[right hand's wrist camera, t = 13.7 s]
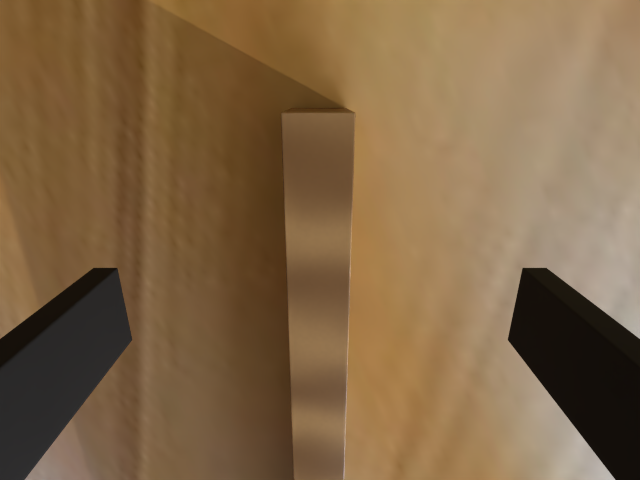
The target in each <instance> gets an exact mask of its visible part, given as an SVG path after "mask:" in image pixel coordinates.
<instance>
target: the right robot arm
mask: <svg viewBox="0 0 640 480" xmlns="http://www.w3.org/2000/svg"><path fill="white" fill-rule="evenodd" d="M131 341H132V337H131V332H130V327H129V322H128V317H127V313H126V308H125V303H124V298H123V293H122V288H121V284H120V279H119V274H118V269H117V268H93V269H92V270H90V271H89V272H88V273H86V274H85V275H84V276H83V277H81V278H80V279H79V280H77V281H76V282H75V283H73V284H72V285H71V286H69V287H68V288H67V289H65V290H64V291H63V292H61V293H60V294H59V295H58V296H56V297H55V298H54V299H52V300H51V301H50V302H48V303H47V304H46V305H44V306H43V307H42V308H40V309H39V310H38V311H37V312H35V313H34V314H33V315H31V316H30V317H29V318H27V319H26V320H25V321H23V322H22V323H21V324H19V325H18V326H17V327H16V328H14V329H13V330H12V331H10V332H9V333H8V334H6V335H5V336H4V337H2V338H1V339H0V480H25V478H26V477H27V476H28V474H29V473H30V472H31V471H32V469H33V468H34V467H35V465H36V464H37V463H38V461H39V460H40V459H41V458H42V456H43V455H44V454H45V452H46V451H47V450H48V448H49V447H50V446H51V445H52V443H53V442H54V441H55V439H56V438H57V437H58V435H59V434H60V433H61V432H62V430H63V429H64V428H65V426H66V425H67V424H68V422H69V421H70V420H71V419H72V417H73V416H74V415H75V413H76V412H77V411H78V409H79V408H80V407H81V406H82V404H83V403H84V402H85V400H86V399H87V398H88V396H89V395H90V394H91V393H92V391H93V390H94V389H95V387H96V386H97V385H98V383H99V382H100V381H101V380H102V378H103V377H104V376H105V374H106V373H107V372H108V370H109V369H110V368H111V367H112V365H113V364H114V363H115V361H116V360H117V359H118V357H119V356H120V355H121V354H122V352H123V351H124V350H125V348H126V347H127V346H128V345H129V343H130V342H131ZM508 341H509V342H510V343H511V345H512V346H513V347H514V348H515V350H516V351H517V352H518V354H519V355H520V356H521V357H522V359H523V360H524V361H525V363H526V364H527V365H528V367H529V368H530V369H531V370H532V372H533V373H534V374H535V376H536V377H537V378H538V380H539V381H540V382H541V383H542V385H543V386H544V387H545V389H546V390H547V391H548V393H549V394H550V395H551V396H552V398H553V399H554V400H555V402H556V403H557V404H558V406H559V407H560V408H561V409H562V411H563V412H564V413H565V415H566V416H567V417H568V419H569V420H570V421H571V422H572V424H573V425H574V426H575V428H576V429H577V430H578V432H579V433H580V434H581V435H582V437H583V438H584V439H585V441H586V442H587V443H588V445H589V446H590V447H591V448H592V450H593V451H594V452H595V454H596V455H597V456H598V458H599V459H600V460H601V461H602V463H603V464H604V465H605V467H606V468H607V469H608V471H609V472H610V473H611V474H612V476H613V477H614V478H615V480H640V339H639V338H638V337H636V336H635V335H634V334H632V333H631V332H630V331H628V330H627V329H626V328H624V327H623V326H622V325H621V324H619V323H618V322H617V321H615V320H614V319H613V318H611V317H610V316H609V315H607V314H606V313H605V312H603V311H602V310H601V309H600V308H598V307H597V306H596V305H594V304H593V303H592V302H590V301H589V300H588V299H586V298H585V297H584V296H582V295H581V294H580V293H579V292H577V291H576V290H575V289H573V288H572V287H571V286H569V285H568V284H567V283H565V282H564V281H563V280H561V279H560V278H559V277H557V276H556V275H555V274H554V273H552V272H551V271H550V270H548V269H547V268H523V269H522V274H521V279H520V284H519V288H518V293H517V298H516V303H515V308H514V313H513V317H512V322H511V327H510V332H509V337H508Z"/></svg>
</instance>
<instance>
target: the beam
mask: <svg viewBox="0 0 640 480" xmlns="http://www.w3.org/2000/svg"><path fill="white" fill-rule="evenodd" d="M281 127H282V156H283V185H284V214H285V243H286V272H287V302H288V331H289V360H290V389H291V418H292V447H293V476H294V480H344V464H345V432H346V400H347V368H348V335H349V303H350V271H351V239H352V206H353V174H354V142H355V112H353V111H351V110H349V109H346V108H291V109H289V110H286V111H284V112H282V113H281Z"/></svg>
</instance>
